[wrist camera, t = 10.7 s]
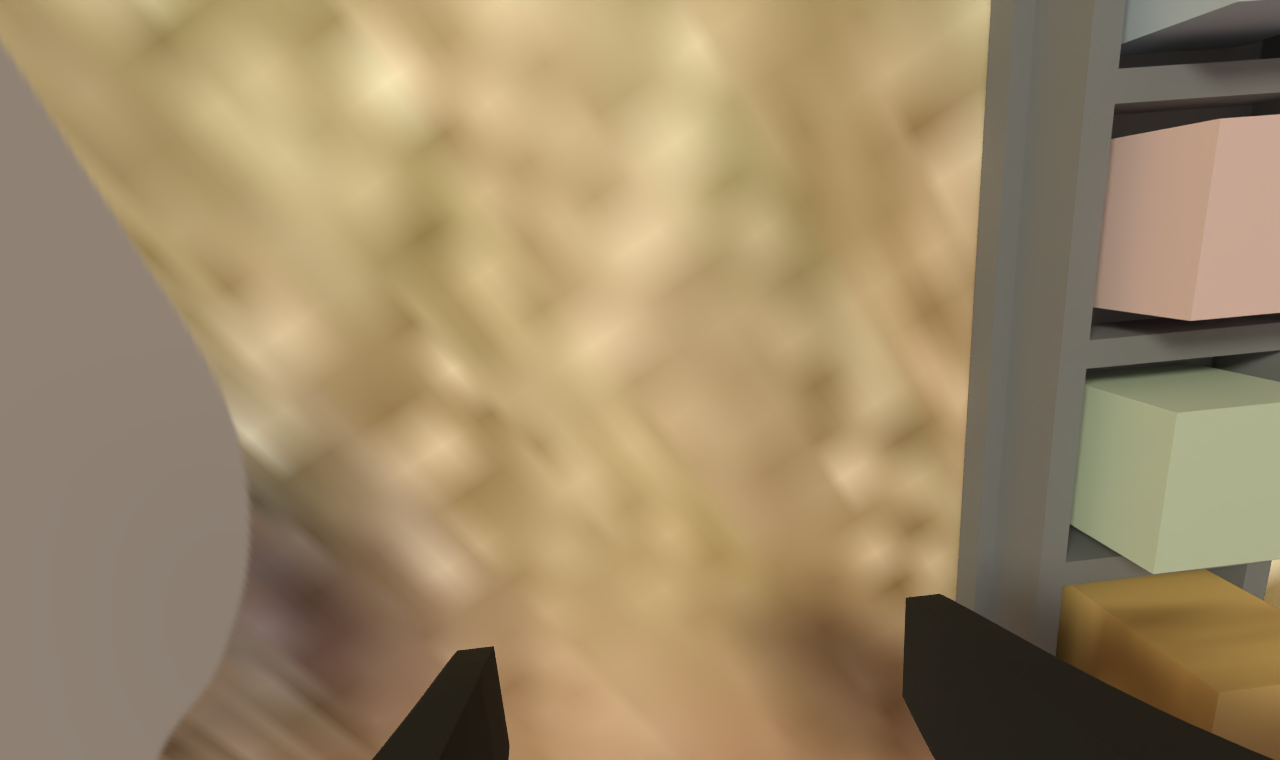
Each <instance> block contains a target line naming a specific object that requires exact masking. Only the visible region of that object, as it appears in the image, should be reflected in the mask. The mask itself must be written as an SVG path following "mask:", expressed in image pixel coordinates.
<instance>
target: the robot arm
mask: <svg viewBox="0 0 1280 760" xmlns="http://www.w3.org/2000/svg"><path fill="white" fill-rule="evenodd" d="M903 698H904V700H905V702H906V704H907V706H908V708H909V710H910V712H911V714H912V716H913V718H914V720H915V722H916V724H917V726H918V728H919V730H920V732H921V734H922V736H923V738H924V740H925V742H926V744H927V745H928V747H929V749H930V751H931V753H932V755H933V757H934V758H935V760H1274V759H1272V758H1269V757H1267V756H1264V755H1262V754H1259V753H1257V752H1254V751H1252V750H1250V749H1247V748H1245V747H1243V746H1241V745H1238V744H1236V743H1234V742H1231V741H1229V740H1227V739H1224V738H1222V737H1220V736H1217V735H1215V734H1213V733H1210V732H1208V731H1206V730H1204V729H1201V728H1199V727H1197V726H1194V725H1192V724H1190V723H1188V722H1185V721H1183V720H1181V719H1179V718H1177V717H1175V716H1172V715H1170V714H1168V713H1166V712H1164V711H1162V710H1160V709H1157V708H1155V707H1153V706H1151V705H1149V704H1147V703H1145V702H1143V701H1141V700H1139V699H1137V698H1135V697H1133V696H1131V695H1129V694H1127V693H1125V692H1123V691H1121V690H1119V689H1117V688H1115V687H1113V686H1111V685H1109V684H1107V683H1105V682H1103V681H1101V680H1099V679H1097V678H1095V677H1093V676H1091V675H1089V674H1087V673H1086V672H1084V671H1082V670H1080V669H1078V668H1076V667H1074V666H1072V665H1070V664H1068V663H1067V662H1065V661H1063V660H1061V659H1059V658H1057V657H1055V656H1054V655H1052V654H1050V653H1048V652H1046V651H1044V650H1043V649H1041V648H1039V647H1037V646H1035V645H1033V644H1032V643H1030V642H1028V641H1026V640H1024V639H1023V638H1021V637H1019V636H1017V635H1015V634H1014V633H1012V632H1010V631H1008V630H1006V629H1005V628H1003V627H1001V626H999V625H997V624H996V623H994V622H992V621H990V620H988V619H987V618H985V617H983V616H981V615H979V614H978V613H976V612H974V611H972V610H970V609H968V608H966V607H965V606H963V605H961V604H959V603H957V602H955V601H953V600H951V599H949V598H947V597H945V596H943V595H941V594H935V595H926V596H918V597H909V598H906V612H905V640H904V668H903ZM508 757H509V740H508V733H507V727H506V721H505V714H504V708H503V702H502V695H501V689H500V683H499V676H498V670H497V664H496V658H495V651H494V646H493V647H485V648H476V649H468V650H459V651H457V652H456V653H455V654H454V655H453V656H452V658H451V659H450V660H449V662H448V663H447V664H446V665H445V667H444V668H443V669H442V671H441V672H440V673H439V675H438V676H437V677H436V679H435V680H434V681H433V683H432V684H431V685H430V687H429V688H428V689H427V691H426V692H425V693H424V695H423V696H422V697H421V699H420V700H419V701H418V702H417V704H416V705H415V706H414V708H413V709H412V710H411V712H410V713H409V714H408V716H407V717H406V718H405V719H404V721H403V722H402V723H401V724H400V726H399V727H398V728H397V729H396V731H395V732H394V733H393V734H392V736H391V737H390V738H389V739H388V741H387V742H386V743H385V744H384V746H383V747H382V748H381V749H380V751H379V752H378V753H377V754H376V756H375V757H374V758H373V759H372V760H508Z"/></svg>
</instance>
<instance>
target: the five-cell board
mask: <svg viewBox="0 0 1280 760" xmlns="http://www.w3.org/2000/svg"><path fill="white" fill-rule="evenodd" d="M1277 559H1280V0H991V17H990V34H989V51H988V68H987V85H986V102H985V119H984V136H983V153H982V171H981V188H980V205H979V222H978V239H977V256H976V273H975V290H974V307H973V324H972V341H971V358H970V375H969V392H968V409H967V426H966V443H965V460H964V477H963V494H962V511H961V528H960V545H959V562H958V579H957V596H956V602H957V603H959V604H961V605H963V606H965V607H966V608H968V609H970V610H972V611H974V612H976V613H978V614H979V615H981V616H983V617H985V618H987V619H988V620H990V621H992V622H994V623H996V624H997V625H999V626H1001V627H1003V628H1005V629H1006V630H1008V631H1010V632H1012V633H1014V634H1015V635H1017V636H1019V637H1021V638H1023V639H1024V640H1026V641H1028V642H1030V643H1032V644H1033V645H1035V646H1037V647H1039V648H1041V649H1043V650H1044V651H1046V652H1048V653H1050V654H1052V655H1054V656H1055V657H1056V647H1057V638H1058V629H1059V619H1060V610H1061V601H1062V592H1063V586H1067V585H1075V584H1084V583H1092V582H1101V581H1109V580H1118V579H1126V578H1134V577H1143V576H1151V575H1160V574H1168V573H1177V572H1185V571H1194V570H1202V569H1206V570H1208V571H1210V572H1211V573H1213V574H1215V575H1217V576H1219V577H1221V578H1222V579H1224V580H1226V581H1228V582H1230V583H1232V584H1233V585H1235V586H1237V587H1239V588H1241V589H1243V590H1245V591H1246V592H1248V593H1250V594H1252V595H1254V596H1256V597H1257V598H1259V599H1261V600H1263V601H1264V596H1265V591H1266V586H1267V581H1268V576H1269V571H1270V566H1271V561H1272V560H1277Z"/></svg>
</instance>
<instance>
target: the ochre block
mask: <svg viewBox="0 0 1280 760" xmlns="http://www.w3.org/2000/svg"><path fill="white" fill-rule="evenodd" d="M1056 657H1057V658H1059V659H1061V660H1063V661H1065V662H1067V663H1068V664H1070V665H1072V666H1074V667H1076V668H1078V669H1080V670H1082V671H1084V672H1086V673H1087V674H1089V675H1091V676H1093V677H1095V678H1097V679H1099V680H1101V681H1103V682H1105V683H1107V684H1109V685H1111V686H1113V687H1115V688H1117V689H1119V690H1121V691H1123V692H1125V693H1127V694H1129V695H1131V696H1133V697H1135V698H1137V699H1139V700H1141V701H1143V702H1145V703H1147V704H1149V705H1151V706H1153V707H1155V708H1157V709H1160V710H1162V711H1164V712H1166V713H1168V714H1170V715H1172V716H1175V717H1177V718H1179V719H1181V720H1183V721H1185V722H1188V723H1190V724H1192V725H1194V726H1197V727H1199V728H1201V729H1204V730H1206V731H1208V732H1210V733H1213V734H1215V735H1217V736H1220V737H1222V738H1224V739H1227V740H1229V741H1231V742H1234V743H1236V744H1238V745H1241V746H1243V747H1245V748H1247V749H1250V750H1252V751H1254V752H1257V753H1259V754H1262V755H1264V756H1267V757H1269V758H1272V759H1274V760H1280V610H1279V609H1278V608H1276V607H1274V606H1272V605H1270V604H1268V603H1267V602H1265V601H1263V600H1261V599H1259V598H1257V597H1256V596H1254V595H1252V594H1250V593H1248V592H1246V591H1245V590H1243V589H1241V588H1239V587H1237V586H1235V585H1233V584H1232V583H1230V582H1228V581H1226V580H1224V579H1222V578H1221V577H1219V576H1217V575H1215V574H1213V573H1211V572H1210V571H1208V570H1206V569H1202V570H1194V571H1185V572H1177V573H1168V574H1160V575H1151V576H1143V577H1134V578H1126V579H1118V580H1109V581H1101V582H1092V583H1084V584H1075V585H1067V586H1063V592H1062V601H1061V610H1060V619H1059V629H1058V638H1057V647H1056Z"/></svg>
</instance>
